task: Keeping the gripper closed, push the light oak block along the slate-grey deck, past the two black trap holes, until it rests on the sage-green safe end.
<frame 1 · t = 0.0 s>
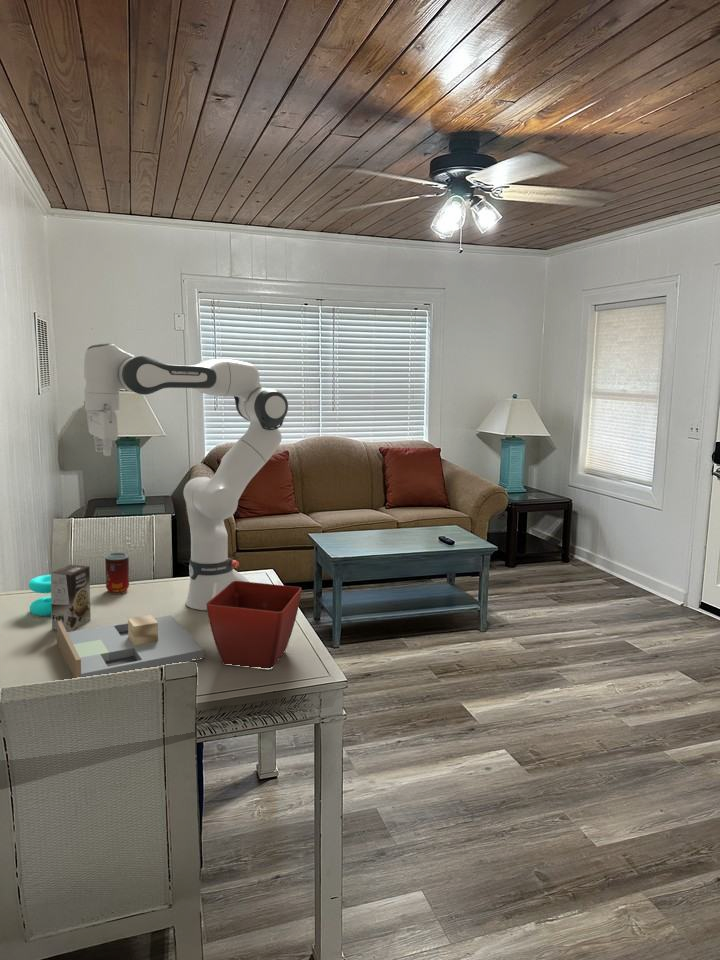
hand: (103, 453, 183), 48 cm above the table, tool pointing down, fingers open, 8 cm apart
oak block: (143, 639, 172), point 2 cm above the table, touching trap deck
plant pot: (255, 659, 169), on the table
cyan spool: (48, 611, 195), on the table
coffee box: (71, 625, 186), on the table
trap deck: (129, 650, 170), on the table
soda can: (117, 591, 215), on the table
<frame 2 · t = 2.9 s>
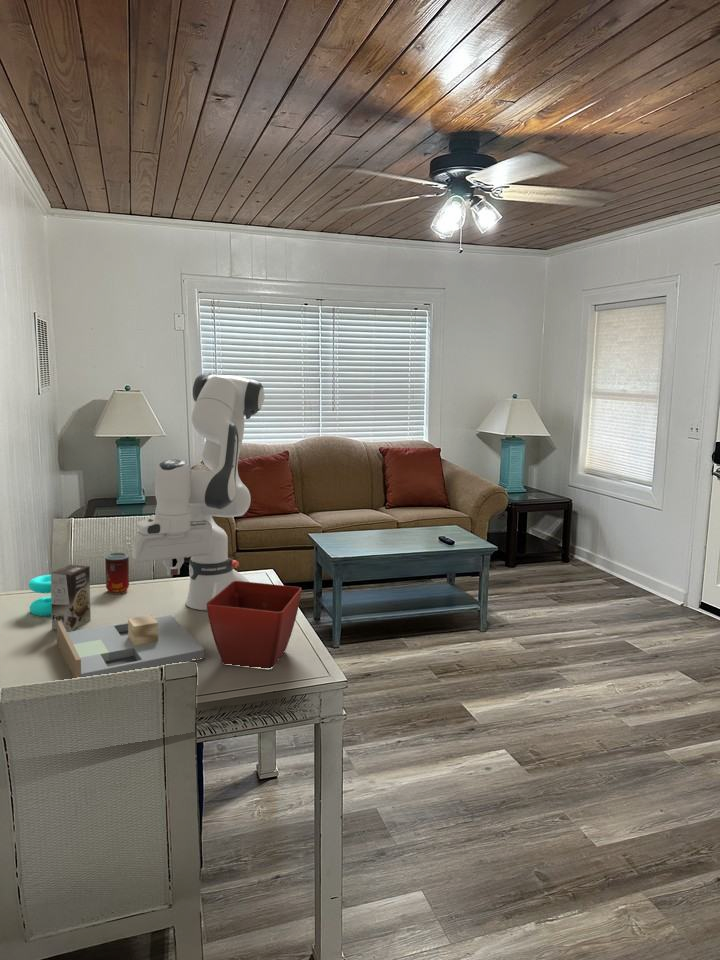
hand: (173, 574, 174), 19 cm above the table, tool pointing down, fingers closed
nothing on the table moved.
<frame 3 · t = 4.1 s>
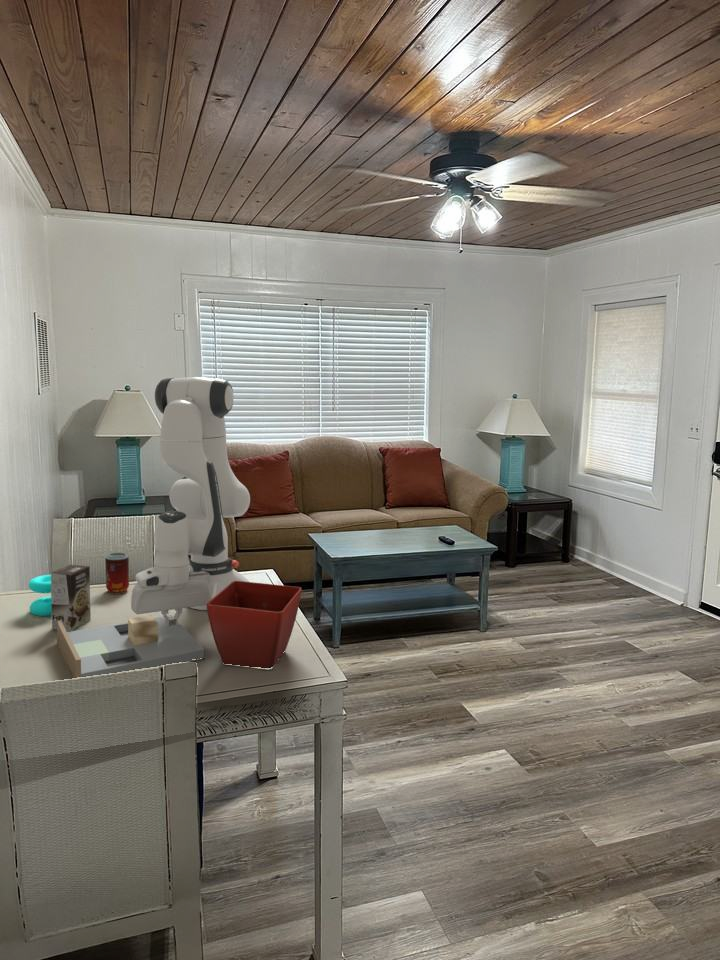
hand: (171, 624, 175), 5 cm above the table, tool pointing down, fingers closed
nothing on the table moved.
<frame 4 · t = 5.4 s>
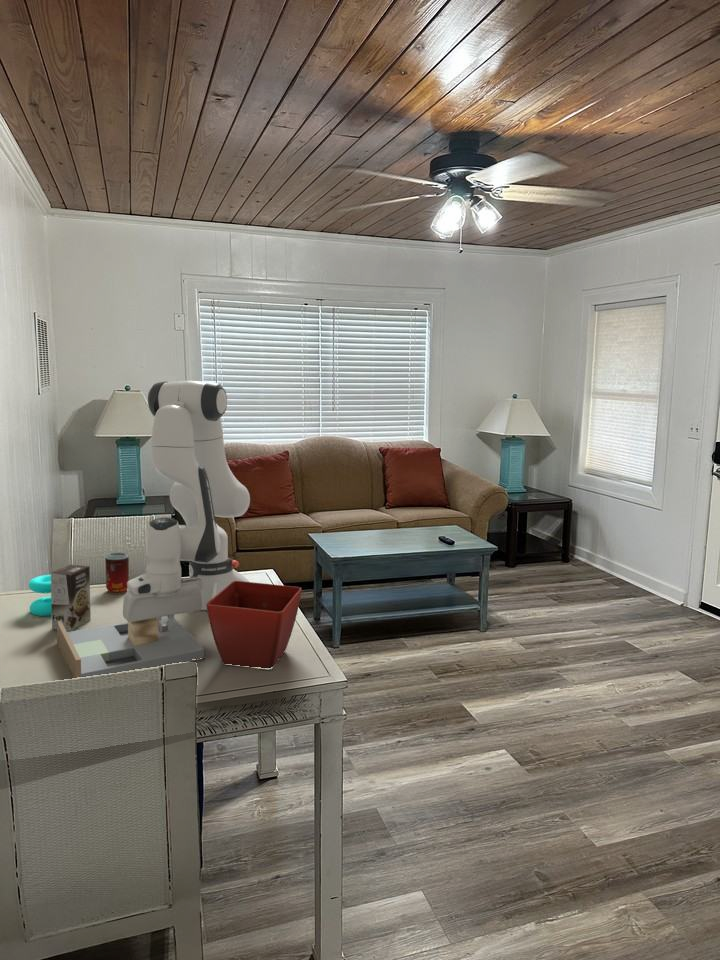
hand: (164, 631, 174), 4 cm above the table, tool pointing down, fingers closed
oak block: (143, 639, 172), point 2 cm above the table, touching gripper, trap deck
everything else where it was.
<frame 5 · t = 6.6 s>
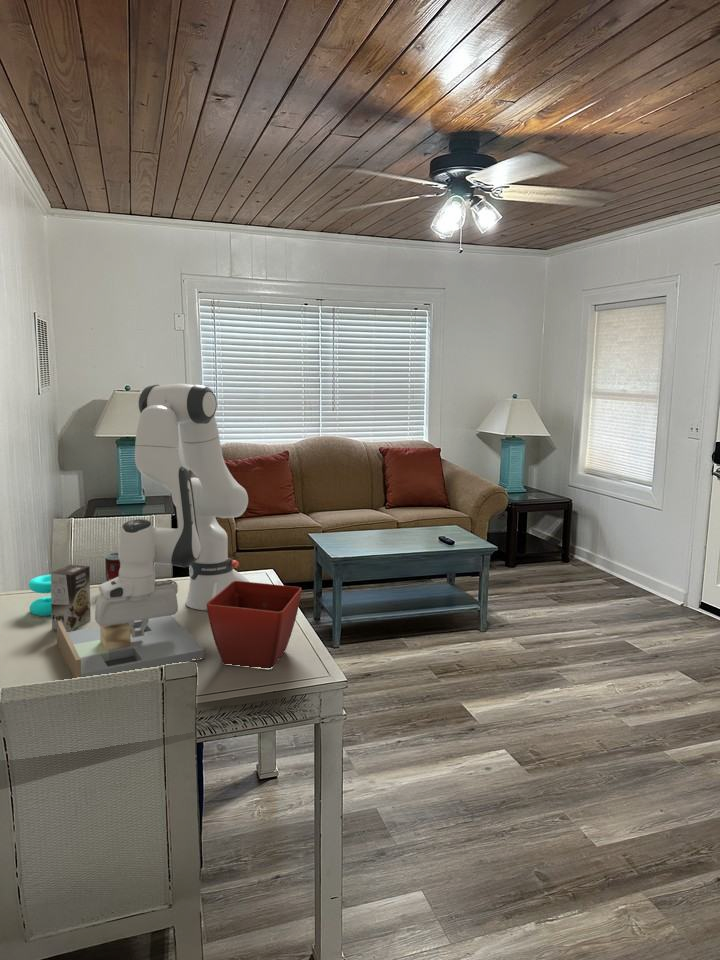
hand: (137, 635, 171), 4 cm above the table, tool pointing down, fingers closed
oak block: (115, 643, 168), point 3 cm above the table, touching gripper
everything else where it was.
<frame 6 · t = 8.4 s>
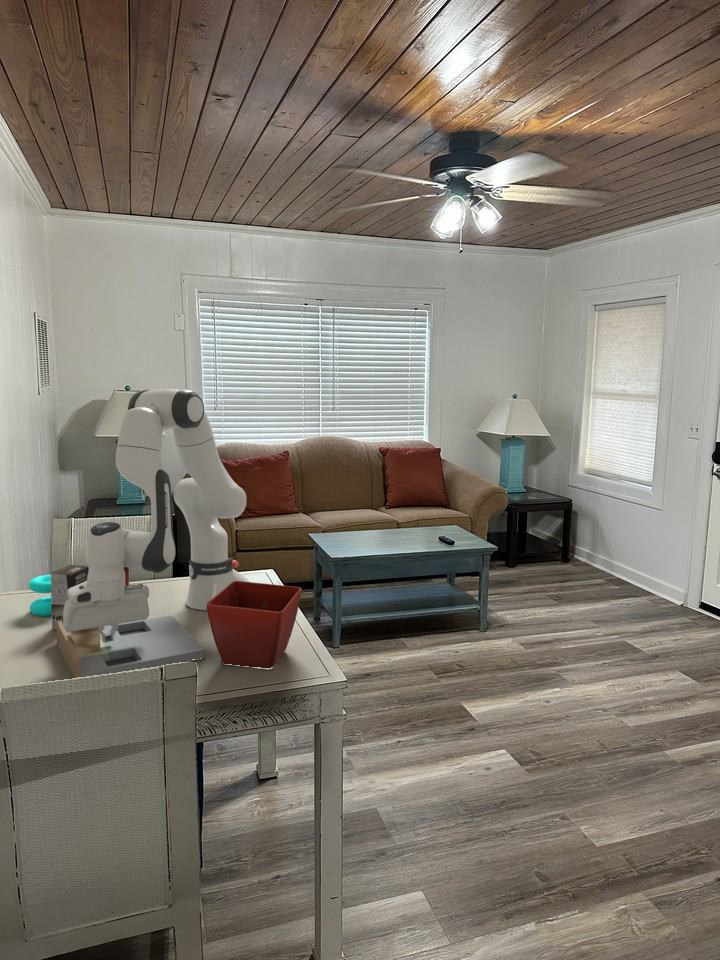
hand: (107, 641, 167), 4 cm above the table, tool pointing down, fingers closed
oak block: (85, 649, 164), point 2 cm above the table, touching gripper, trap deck
everything else where it was.
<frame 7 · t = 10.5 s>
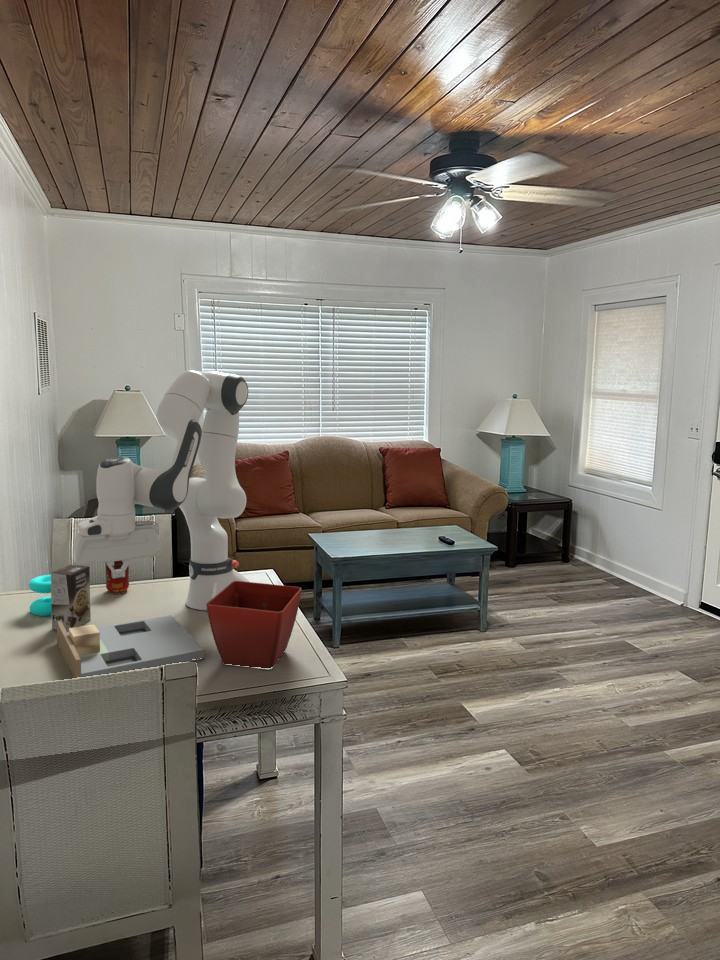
hand: (118, 577, 166), 20 cm above the table, tool pointing down, fingers closed
oak block: (84, 649, 164), point 2 cm above the table, touching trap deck
everything else where it was.
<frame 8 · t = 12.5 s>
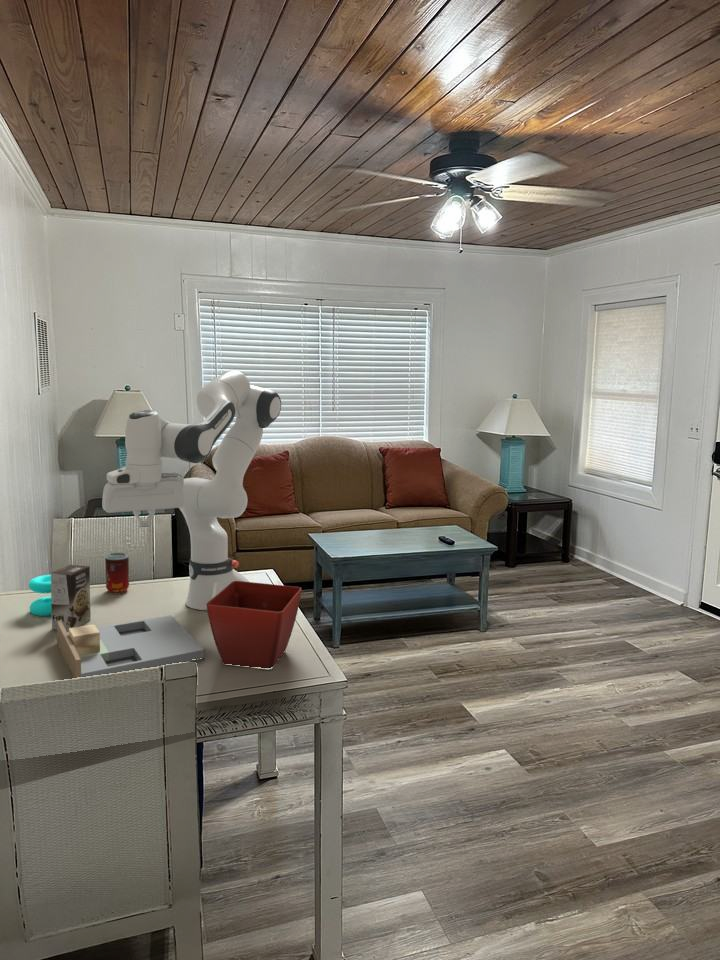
hand: (144, 526, 173), 31 cm above the table, tool pointing down, fingers closed
nothing on the table moved.
at the end: oak block inside the target area on the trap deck (1.1 cm from its centre), point 2.5 cm above the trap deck's base; oak block tilted 0° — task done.
